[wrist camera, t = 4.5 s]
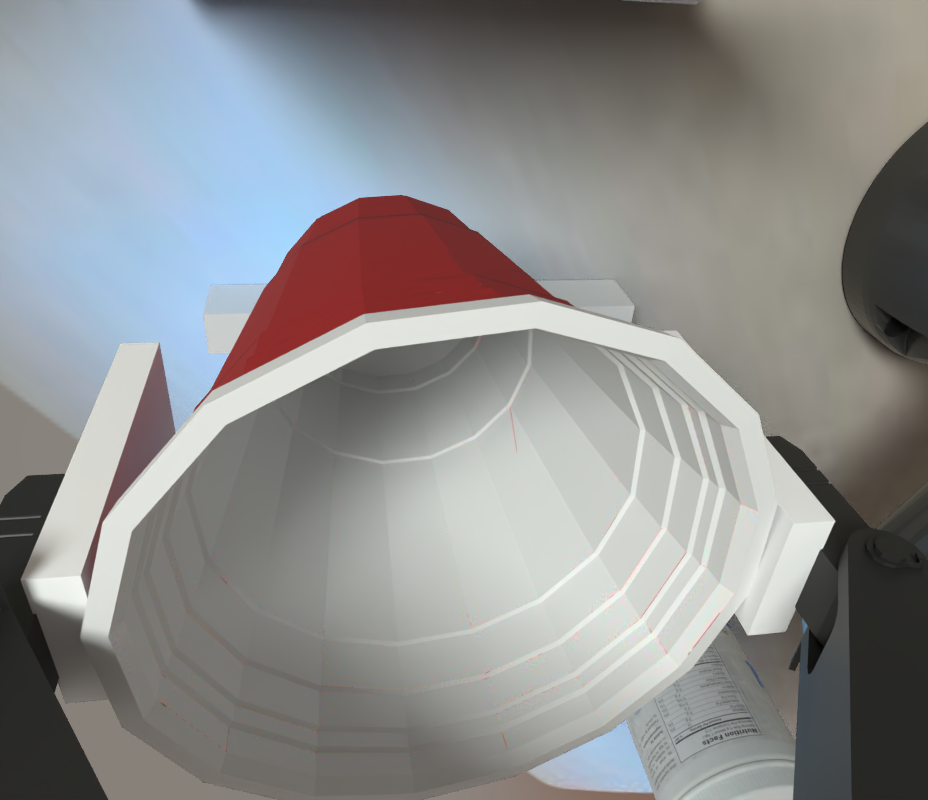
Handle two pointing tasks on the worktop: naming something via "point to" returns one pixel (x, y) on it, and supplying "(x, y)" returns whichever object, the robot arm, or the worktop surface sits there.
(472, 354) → the plastic cup
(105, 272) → the worktop surface
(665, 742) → the supplement tub
